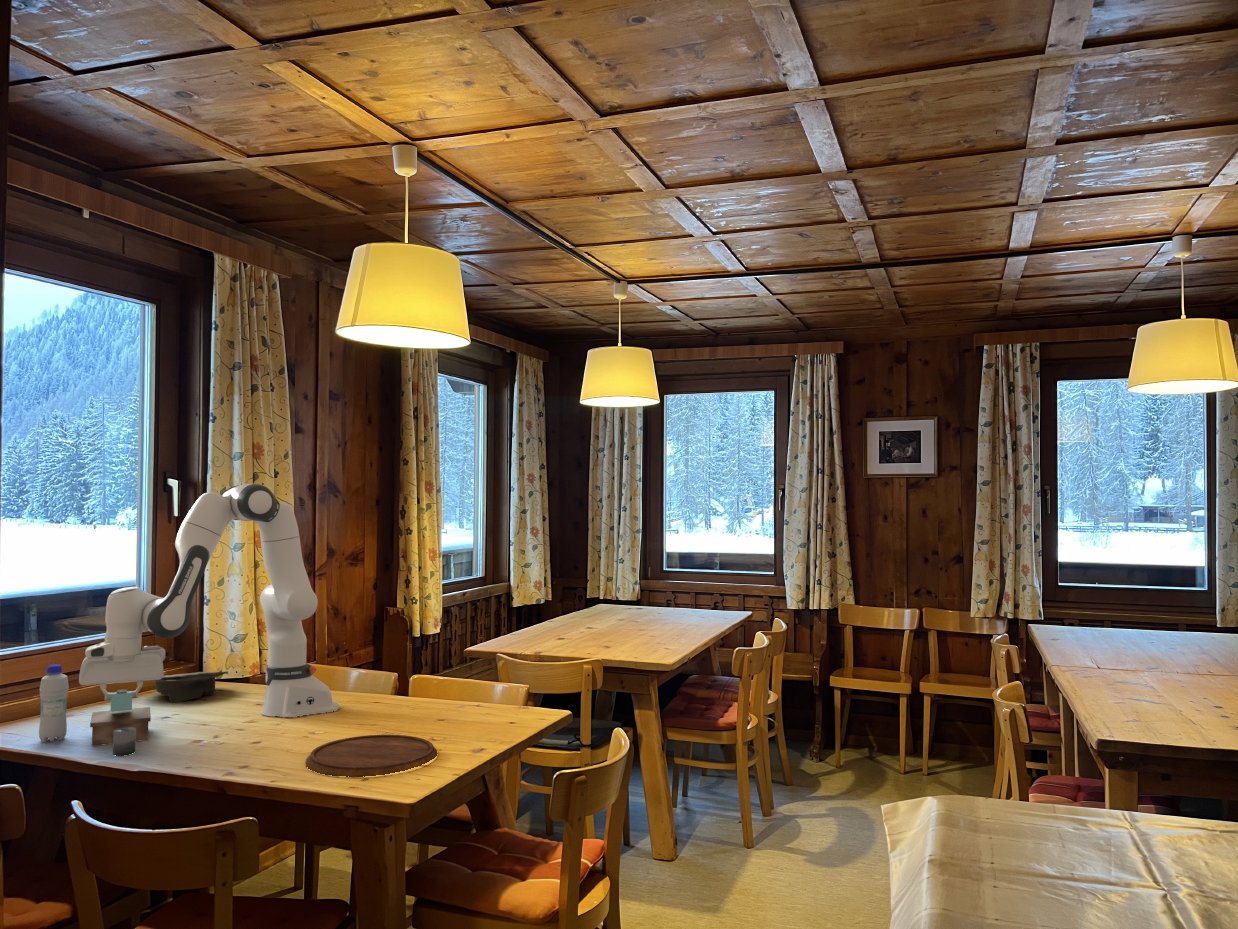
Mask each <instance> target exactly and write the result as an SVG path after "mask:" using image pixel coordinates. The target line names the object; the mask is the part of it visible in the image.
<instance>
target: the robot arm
mask: <svg viewBox="0 0 1238 929" xmlns="http://www.w3.org/2000/svg"><path fill="white" fill-rule="evenodd" d="M232 521H241V522H251V521H254V522H255V523H256V525H257V527H258V529H259V534H260V543H261V544H260V546H261V551H262V558H263V559H262V560H263V566H264V569H265V570H266V572H267V574H268V576H269V580H270V582H271V584H269V585H267V586H265V587H264V589H263V590H262V592H261V594H260V597H259V602H260V605H261V607H262V611H263V614H264V616H263V617H264V621H265V622H264V623H265V628H266V633H267V634H266V635H267V665H266V667H265V685H266V688H265V696H264V700H263V706H262V709H261V711H260V713H261V715H263V716H266V717H267V716H268V717H275V716H280V717H279V718H285V717H293V718H298V717H297V716H300V717H304V716H303V715H307V716H310V715H309V714H314V715H317V714H316V713H321V714H327V713H334V712H337V711H339V710H340V704H339V703H338V701H335V700H333V697H332V691H331V689H330V687H329V686H328V685H327V684H325V683H324V682H323V681H321V680H320V679H318V678H317V677H315V676H314V675H313V674H315V673H316V672H317V671H318V669H317V667H316V666H315V665H311V664H309V663H307V642H308V639H307V636H306V634H305V631H304V628H303V623H302V621H303V620H304V621H305V620H306V619H308V618H311V617H312V616H313V615H314V614H315V612H316V611H317V608H318V603H319V602H318V601H319V600H318V596H317V595H316V593H315V592H314V590H313V588H312V586H311V583H310V579H309V576H308V573H307V570H306V568H305V564H304V558H303V555H302V554H303V553H302V545H301V536H300V532H299V530H300V529H299V526H298V522H297V518H296V515H295V513H294V510H293V507H292V506H291V505H290V504H289V503H286V502H282V501H279V500H278V499H277V498H276V496H275V495H274V493H273V492H272V491H271V489H270V488H268V487H267V486H265V485H263V484H259V483H243V484H237V485H233V486H231V487H229V488H228V489H226V490H225V491H223V492H222V493H216V492H205V493H203V494H201V495H200V496H199V497H198V499H197V500H196V501H195V503H194V504H193V505H192V506H191V508H190V509H189V510H188V513H187V514H186V516H185V518H184V519H183V521H182V523H181V525H180V527H179V530H178V532H177V534H176V538H175V542H174V546H175V549H176V552H177V554H178V559H179V566H178V570H177V572H176V575H175V577H174V579H173V581H172V583H171V585H170V588H169V590H168V593H167V594H166V596H164V597H162V596H158V595H155V594H151V593H149V592H147V591H145V590H144V589H141V588H140V587H139V586H130V587H129V586H128V587H127V586H126V587H122V588H118V589H115V590H113V591H112V592H111V593H110V594H109V595H108V597H107V600H106V601H107V602H106V605H105V606H106V607H105V618H104V620H105V627H106V632H105V635H104V641H103V642H100V643H97V644H94V645H90V646H88V647H87V648H85V651H84V652H85V657H84V658H83V660H82V663H81V665H80V669H79V670H80V671H79V676H78V683H79V685H80V686H92V685H93V686H94V685H96V686H97V685H99V686H100V687H99V688H100V690H101V692H102V693H103V695H104V701H105V702H106V701H111V693H112V692H108V691H107V689H106V688H107V685H108V684H119V683H121V684H122V683H135V682H136V686H137V687H136V689H135V690H131V691H132V699H139V692H140V690H141V689H142V688H143V685H144V682H150V681H149V680H160V679H161V678H162V677H163V676H165V675H164V663H163V662H164V661H165V659H166V649H165V648H164V647H161V646H160V645H150V646H149V645H145V646H143V645H142V637H143V636H142V634H143V633H144V632H151V633H152V634H154V635H155V636H156V637H159V638H161V639H172V638H176V637H177V636H180V635H182V633H183V632H184V631H186V629H187V628H188V626H189V624H190V618H191V605H192V602H193V599H194V596H195V594H196V592H197V589H198V587H199V585H200V583H201V581H202V578H203V576H204V573H205V571H206V568H207V565H208V563H209V562H210V559H211V557H212V555H213V553H214V552H215V550H216V548H217V546H218V544H219V542H220V540H221V539H222V536H223V534H224V532H225V530H226V528H227V526H228V525H229V524H230V523H231V522H232ZM338 709H339V710H338ZM333 711H334V712H333ZM326 712H327V713H326ZM281 716H282V717H281Z"/></svg>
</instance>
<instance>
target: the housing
mask: <svg viewBox="0 0 1238 929" xmlns="http://www.w3.org/2000/svg"><path fill="white" fill-rule="evenodd" d="M132 691H133V690H130V691H129V690H128V689H118V690H116V692H110V693H111V700H110V710H109V711H111V712H113V711H124V710H132V709H133V698H132Z"/></svg>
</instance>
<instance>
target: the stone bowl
mask: <svg viewBox="0 0 1238 929" xmlns="http://www.w3.org/2000/svg"><path fill="white" fill-rule="evenodd" d="M228 673H229V671H205V672H204V671H198V672H191V673H189V672H188V673H177V674H171V675H168V674H167V675H164V676H163V677H162V678H161V679H160V680H149V681H148V682H155V690H156V692H157V693H160V694H161V695H163V696H168V700H169V701H170V702H171V703H183V702H185V701H189V700H192V699H199V698H201V697H203V696H207V697H209V696H212V695H214V694H215V691H216V678H217V677H220V676H222V675H225V674H228ZM177 701H179V702H177ZM182 701H183V702H182Z"/></svg>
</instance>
